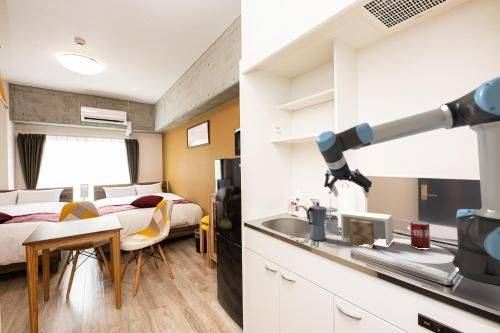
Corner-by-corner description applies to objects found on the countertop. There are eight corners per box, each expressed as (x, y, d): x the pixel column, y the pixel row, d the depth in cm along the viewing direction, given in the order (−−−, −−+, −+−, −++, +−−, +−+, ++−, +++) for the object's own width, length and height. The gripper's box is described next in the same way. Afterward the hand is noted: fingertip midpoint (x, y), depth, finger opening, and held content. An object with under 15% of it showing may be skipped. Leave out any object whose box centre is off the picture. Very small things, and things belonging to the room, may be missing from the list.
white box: (393, 242, 111) (392, 215, 111) (388, 248, 103) (387, 219, 103) (348, 234, 126) (347, 210, 126) (341, 239, 118) (340, 213, 118)
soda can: (434, 251, 98) (433, 224, 98) (416, 250, 100) (415, 224, 100) (424, 245, 105) (423, 220, 105) (407, 244, 107) (406, 220, 107)
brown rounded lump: (374, 246, 106) (373, 221, 107) (371, 249, 103) (370, 224, 103) (352, 241, 113) (352, 219, 113) (349, 244, 109) (348, 221, 110)
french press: (324, 234, 127) (323, 192, 127) (321, 229, 138) (319, 190, 138) (342, 234, 125) (340, 192, 125) (337, 229, 136) (335, 190, 137)
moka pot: (332, 237, 121) (331, 202, 121) (317, 244, 111) (315, 205, 111) (318, 234, 128) (316, 200, 128) (302, 240, 118) (300, 203, 119)
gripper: (307, 171, 97) (323, 200, 108) (368, 169, 80) (380, 203, 90) (312, 159, 101) (327, 188, 111) (371, 155, 84) (382, 189, 94)
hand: (351, 195), depth 101 cm, fingers open, 13 cm apart
